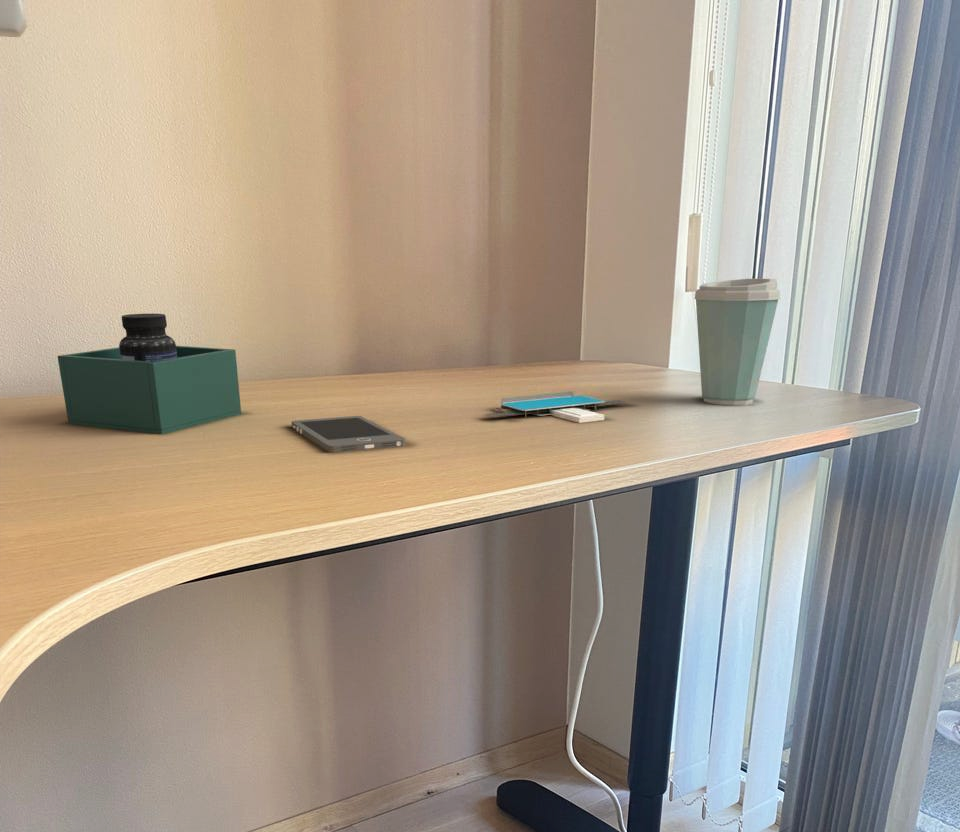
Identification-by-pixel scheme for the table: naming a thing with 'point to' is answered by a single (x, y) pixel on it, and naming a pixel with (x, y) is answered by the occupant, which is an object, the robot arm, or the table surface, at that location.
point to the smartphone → (347, 434)
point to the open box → (150, 389)
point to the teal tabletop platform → (554, 406)
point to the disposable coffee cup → (734, 337)
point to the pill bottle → (146, 338)
